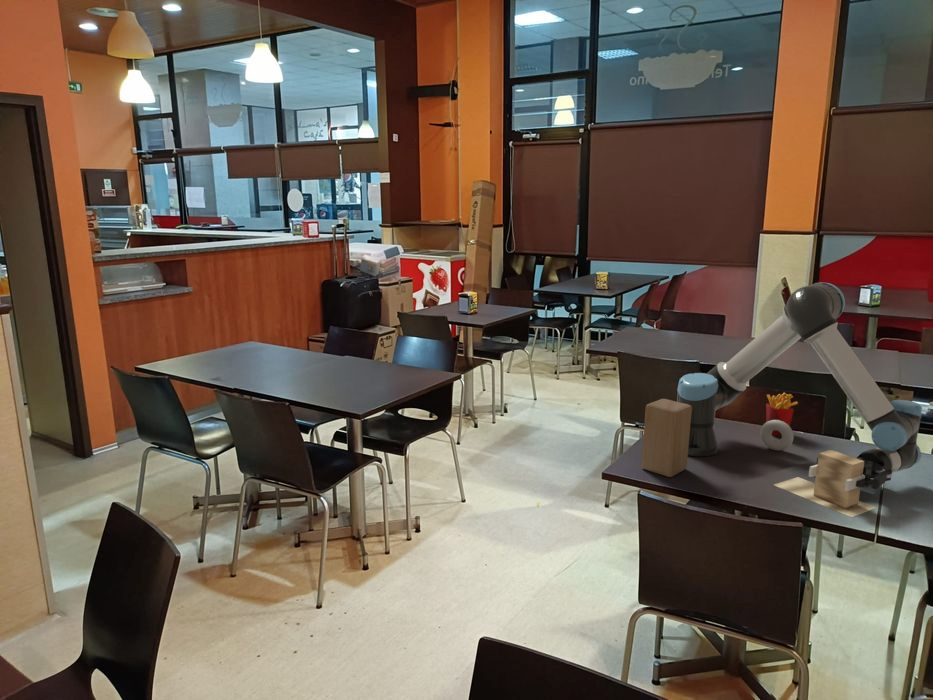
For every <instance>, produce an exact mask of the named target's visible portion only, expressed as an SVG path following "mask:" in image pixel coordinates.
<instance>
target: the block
mask: <svg viewBox="0 0 933 700" xmlns="http://www.w3.org/2000/svg"><path fill="white" fill-rule="evenodd" d="M644 410H645V413H644V423H643V440H642V452H641V468H642V469H643V470H645V471H648V472H652V473H655V474H659V475H662V476H664V477H667V478H672V477H674V476H676V475H678V474H680V473H681V472H683V471H685V470H686V469H687V467H688V458H689V457H688V456H689V455H688V446H689V435H690V423H691V412H692V406H691V405H688V404H684V403H680V402H677V400H676V401H675V400H672V399H668V398H660V399H658V400H655V401H652V402H650V403H647V404H646V405H645V409H644Z"/></svg>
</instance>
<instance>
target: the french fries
mask: <svg viewBox="0 0 933 700" xmlns="http://www.w3.org/2000/svg"><path fill="white" fill-rule="evenodd" d="M766 397H767V399H768V403H766V404H765V407H766V408H765V410H766V411H765V413H766V415H765V417H766V420H765V421H766V422H768V421H771V420H780V421H783V422H785V423H786V424H787V425H789V427H790V428H791V422H792V419H793V414H794V408H793V406H796V405H798V404H799V402H798V401H793V402H792V401H791V399H792V398H794V396H793V395H792V394H791V393H789V394H787V393H786V392H783V393H782V394H781V393H779V394H777V395H772V396H771V395H770V394H766ZM766 422H765V423H766ZM771 434H772V437H773V436H782V434H781V433H780V432H779V431H777V430H774V431H772V433H771Z"/></svg>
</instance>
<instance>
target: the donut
mask: <svg viewBox="0 0 933 700" xmlns="http://www.w3.org/2000/svg"><path fill="white" fill-rule="evenodd" d="M774 430H777V431H779V432H780V433H781V434H782V437H781V438H780V439H775V438H774V437H773V436H772V434H771V433H772V431H774ZM759 434H760V435H759V437H760V439H761V442H762V443H763V444H764V445H765V447H767V448H768V449H771V450H773V451H780V452H781V451H784V450H787V449H789V448H790V446H792V444H793V441H794V431H793V430H792V428H791V426H790V427H789V425H787V424H786V423H785V422H783V421H780V420H771V421H768V422H764V423H763V425H762V426H761V428H760V432H759Z"/></svg>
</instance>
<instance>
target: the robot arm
mask: <svg viewBox="0 0 933 700" xmlns="http://www.w3.org/2000/svg"><path fill="white" fill-rule="evenodd" d="M845 306H846V299H845V296H844V294H843V292H842V290H841V289H840V288H838V286H836V285H834V284H832V283H829V282H815V283H813V284H810V285H806V286H802V287H800V288H797V289H796V290H794V291H793V292H792V293H791V294H790V296H789V297H788V300H787V302H786V304H785V305H784V306H783V308H782V315H780V317H778V318H777V319H776V320H774V321H773V322H772V324H770V325H769V326H768V327H767V328H766V329H764V330H762V332H760V334H758V335H757V336H756V337H755V338H754V339H752V340H751V341H750V342H749V343H747V344H746V346H745V347H743V348H742V349H741V350H740V351H738V352H737V353H736V354H735V355H733V356H732V357H731V358H730V359H729V360H728V361H727V362H726V361H725V362H724V361H720V362H718V363H717V364H716V365H715V366H714V367H712V369H710V370H709V371H708V372H706V373H705V372H704V373H703V372H694V373H687V374H684V375H682V377H680V378H679V381H678V386H677V394H676V395H677V396H676V397H677V398H676V402H680V403H684V404H688V405H691V406H692V412H691V423H690V435H689V446H688V456H693V457H709V456H713V455H716V454H717V452H718V447H719V445H718V441H717V436H716V432H715V418H716V411H717V410H719V409H721V408H723V407H725V406H729V405H730V404H732V403H733V402H735V401H736V399H737V398H738V396H739V395H740V394H742V393H743V392H744V391H745V390H747V383H748V382H749V381H751V379H752V378H754V377H755V376H756V375H757V374H759V373H760V372H761V371H763V369H765V368H766V367H767V366H769V365H771V363H772V362H774V361H775V360H776V359H777V358H778V357H780V355H782V354H783V353H784V352H785V351H787V350H788V349H790V347H792V346H793V345H795V343H797V342H798V341H799V340H800V339H802V341H803V342H804V343H807V344H809V345H811V346H812V348H813V349H814V351H815V352H816V354H817V355H818V357H819V358H820V360H821V361H822V362H823V364H824V365H825V366H826V368H827V369H828V371H829V372H830V374H831V375H832V376H833V378H834V379H835V381H836V383H837V384H838V385H839V386H840V388H841V389H842V391H843V392H844V393H845V395H846V396H847V398H848V399H849V401H850V402H851V403H852V405H853V406H854V407H855V409H856V411H857V412H858V413H859V415H860V416H861V417H862V419H863V421H864V422H865V423H866V425H867V426H868V428H869V429H870V431H871V441H872V442H873V444H874V445H875V446H876V447H874V448H872V449H868V450H864V451H862V452H861V453H860V454H859V455H858V456H857V457H855V458H856V459H859V460H862V461H864V468H863V474H862V475H860V476H857V477H854V478H851V479H848V480H846V484H845V491H850V490H853V489H855V488H858V487H859V488H860V489H862V488H864V487H866V488H869V487H872V489H874V490H877V489H879V488H880V487H882V486H883V484H885V483H886V482H889V481H892V475H893V474H894V473H896V472H900V471H902V470H906V469H910V468H912V467H913V466H914V465H915V466H916V465H917V464H918V463H919V462H920V460H921V458H922V452H921V449H920V447H919V445H918V444H917V440H918V434H919V428H920V424H921V419H922V410H923V407H922V405H920V403H918V402H915V401H911V400H907V399H906V400H905V399H894V400H892V401H889V399H888V398H887V396H886V395H885V394H884V392H883V391H882V389H881V388H880V387H879V386H878V384H877V382H876V381H875V380H874V379H873V377H872V376H871V374H870V373H869V371H868V370H867V369H866V367H865V366H864V365H863V363H862V362H861V360H860V359H859V358H858V356H857V355H856V353H855V352H854V351H853V349H852V347H850V345H849V343H848V342H847V341H846V340H845V338H844V337H843V336H842V334H841V333H840V331H839V330H838V324H839V323H838V321H837V319H838V318H840V316H841V315H842V313H843V312H844V309H845ZM817 465H818V457H817V458H816V463H815V464H814V465H810V466H809V470H808V477H809V478H813V477H816V472H817Z"/></svg>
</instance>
